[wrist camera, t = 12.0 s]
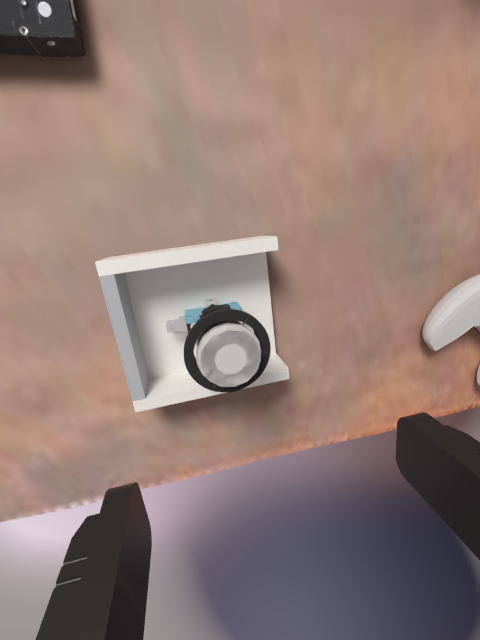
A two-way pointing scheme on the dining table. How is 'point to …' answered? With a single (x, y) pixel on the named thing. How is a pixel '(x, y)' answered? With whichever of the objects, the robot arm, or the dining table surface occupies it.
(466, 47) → the dining table surface
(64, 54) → the disk drive
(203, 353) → the push button
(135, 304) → the box
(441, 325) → the game controller
